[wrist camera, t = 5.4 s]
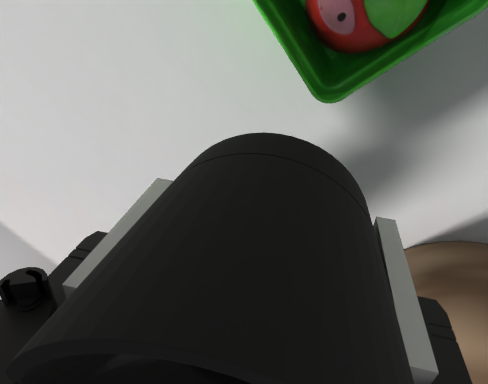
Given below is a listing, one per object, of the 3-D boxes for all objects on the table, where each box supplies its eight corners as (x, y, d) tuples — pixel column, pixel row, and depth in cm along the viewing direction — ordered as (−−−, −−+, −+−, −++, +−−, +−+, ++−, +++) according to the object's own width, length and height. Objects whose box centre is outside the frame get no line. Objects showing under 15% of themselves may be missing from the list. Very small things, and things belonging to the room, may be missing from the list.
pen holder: (141, 215, 17) (-34, 429, 9) (251, 68, 12) (88, 237, 4) (280, 313, 19) (242, 573, 10) (426, 218, 14) (574, 563, 6)
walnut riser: (377, 224, 24) (388, 273, 19) (601, 265, 22) (667, 330, 17) (334, 346, 31) (335, 401, 27) (499, 385, 29) (528, 452, 25)
